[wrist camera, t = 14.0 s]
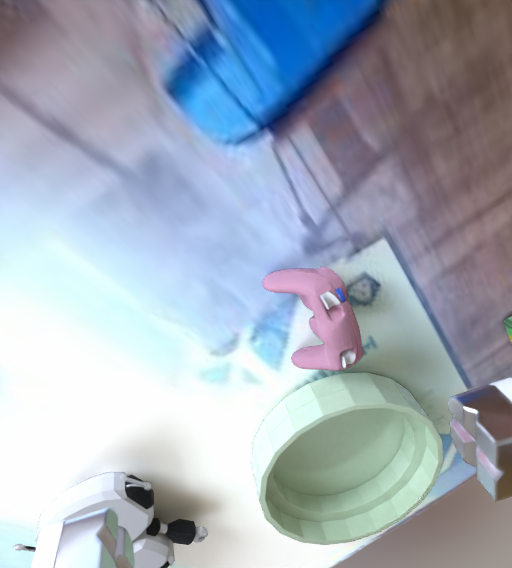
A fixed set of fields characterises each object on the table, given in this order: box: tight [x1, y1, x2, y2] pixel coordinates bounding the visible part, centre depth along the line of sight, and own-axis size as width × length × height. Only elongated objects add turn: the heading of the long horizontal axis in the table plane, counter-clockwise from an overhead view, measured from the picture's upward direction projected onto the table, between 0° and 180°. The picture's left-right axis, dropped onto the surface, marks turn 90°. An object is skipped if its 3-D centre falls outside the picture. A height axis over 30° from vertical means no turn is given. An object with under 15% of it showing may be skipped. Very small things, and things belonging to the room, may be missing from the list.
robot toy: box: [13, 472, 208, 568], centre depth 46 cm, size 12×4×15 cm
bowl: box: [251, 372, 443, 545], centre depth 47 cm, size 18×18×5 cm
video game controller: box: [262, 267, 364, 371], centre depth 39 cm, size 10×5×7 cm, turn 20°
